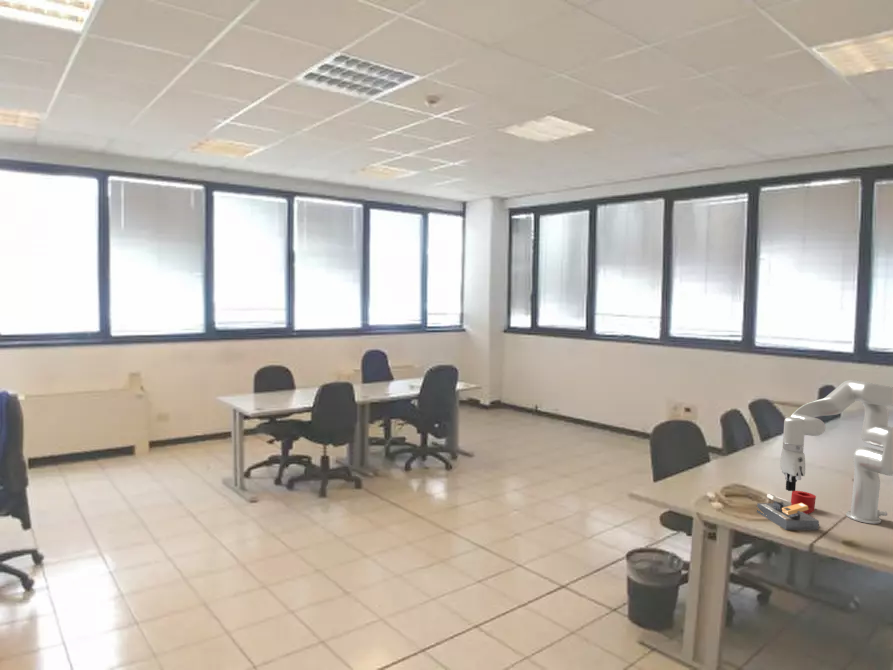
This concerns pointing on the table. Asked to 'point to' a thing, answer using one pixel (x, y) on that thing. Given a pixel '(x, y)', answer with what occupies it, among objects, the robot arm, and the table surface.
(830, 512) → the table surface
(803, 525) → the breaker strip
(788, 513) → the breaker lever
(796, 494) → the lever
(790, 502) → the block
